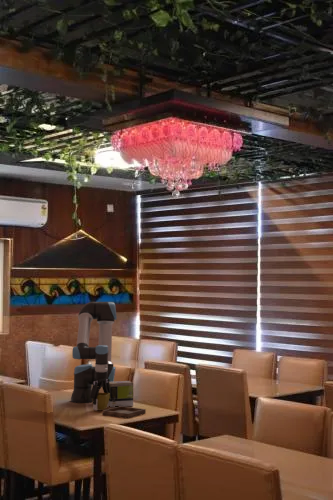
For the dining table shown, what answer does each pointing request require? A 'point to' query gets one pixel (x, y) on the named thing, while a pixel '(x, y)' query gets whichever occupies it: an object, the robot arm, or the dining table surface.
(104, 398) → the flower pot
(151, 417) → the dining table surface
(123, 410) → the walnut tray
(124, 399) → the tea box
